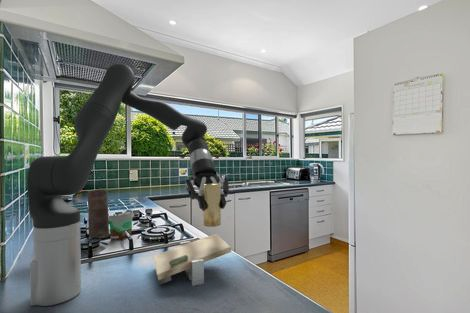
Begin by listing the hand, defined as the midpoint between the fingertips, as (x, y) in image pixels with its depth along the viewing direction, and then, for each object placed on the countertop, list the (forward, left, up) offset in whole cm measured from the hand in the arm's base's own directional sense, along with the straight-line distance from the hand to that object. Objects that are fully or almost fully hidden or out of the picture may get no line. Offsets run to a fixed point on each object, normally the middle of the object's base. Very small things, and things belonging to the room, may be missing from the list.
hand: (213, 208), depth 74 cm
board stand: (-6, +2, -18) cm, 19 cm away
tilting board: (-6, +2, -15) cm, 16 cm away
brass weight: (0, +2, -5) cm, 6 cm away
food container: (-24, +44, -18) cm, 53 cm away
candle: (-34, +48, -18) cm, 61 cm away
